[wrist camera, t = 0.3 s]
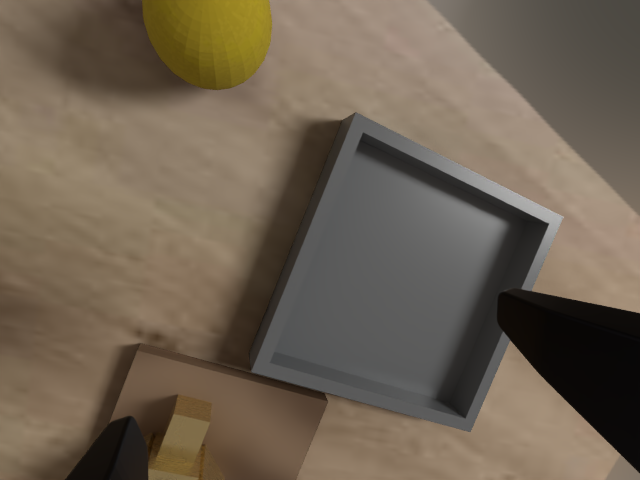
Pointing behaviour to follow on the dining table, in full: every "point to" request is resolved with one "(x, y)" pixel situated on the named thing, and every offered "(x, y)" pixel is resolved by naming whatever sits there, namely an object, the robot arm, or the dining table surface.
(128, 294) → the dining table surface
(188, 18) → the lemon
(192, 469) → the ring
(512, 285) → the tray
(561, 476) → the dining table surface
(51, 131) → the dining table surface
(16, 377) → the dining table surface
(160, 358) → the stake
